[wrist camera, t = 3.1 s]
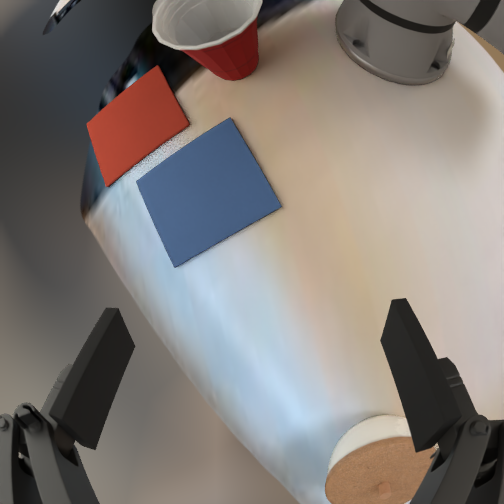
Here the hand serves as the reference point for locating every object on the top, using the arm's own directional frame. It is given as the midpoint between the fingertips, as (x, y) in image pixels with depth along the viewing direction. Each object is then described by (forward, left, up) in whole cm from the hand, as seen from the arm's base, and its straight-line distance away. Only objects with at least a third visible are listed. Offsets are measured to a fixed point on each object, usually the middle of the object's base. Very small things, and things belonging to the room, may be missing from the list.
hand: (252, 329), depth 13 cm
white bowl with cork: (+18, +16, -18) cm, 30 cm away
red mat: (-15, -24, -18) cm, 34 cm away
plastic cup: (-24, -11, -18) cm, 32 cm away
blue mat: (-7, -12, -18) cm, 22 cm away
